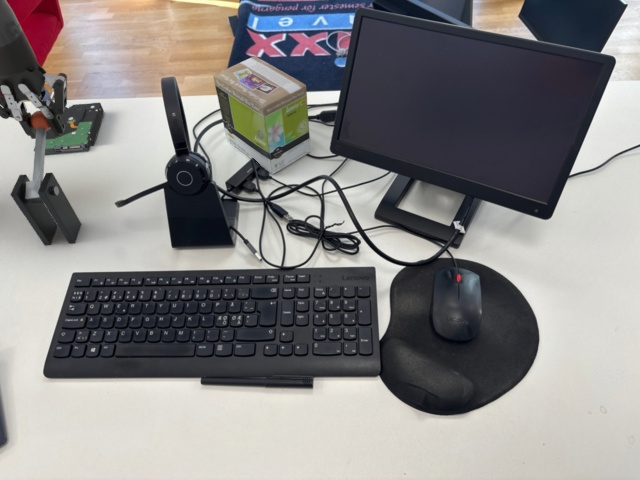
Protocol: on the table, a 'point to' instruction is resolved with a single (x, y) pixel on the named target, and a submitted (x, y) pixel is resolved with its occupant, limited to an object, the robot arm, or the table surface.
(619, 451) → the table surface
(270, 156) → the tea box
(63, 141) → the disk drive
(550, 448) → the table surface
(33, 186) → the lever
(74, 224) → the bracket
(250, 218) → the table surface
